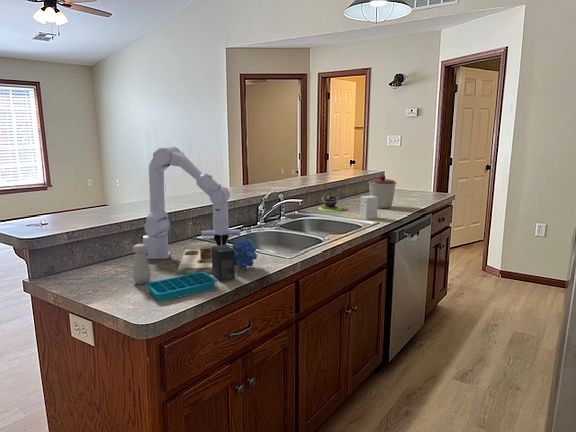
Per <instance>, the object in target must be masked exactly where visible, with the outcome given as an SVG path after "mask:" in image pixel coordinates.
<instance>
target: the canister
mask: <svg viewBox="0 0 576 432" xmlns="http://www.w3.org/2000/svg"><path fill="white" fill-rule="evenodd" d="M367 183H368V184H369V186H368V187H369V188H368V189H369V196H371V195H372V196H375V197H378V207H377V209H390V208H391V207H392V205H393V200H394V196H395V191H396V185H397V184H398V183H397V181H395V180H393V179H388V178H386V175H383V174H381V175H380V176H379V178H375V179H371V180H368V182H367Z"/></svg>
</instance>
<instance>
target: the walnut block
mask: <svg viewBox="0 0 576 432" xmlns="http://www.w3.org/2000/svg"><path fill="white" fill-rule="evenodd" d="M199 250H200V257H201V259H211V257H212V245H200V248H199Z"/></svg>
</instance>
